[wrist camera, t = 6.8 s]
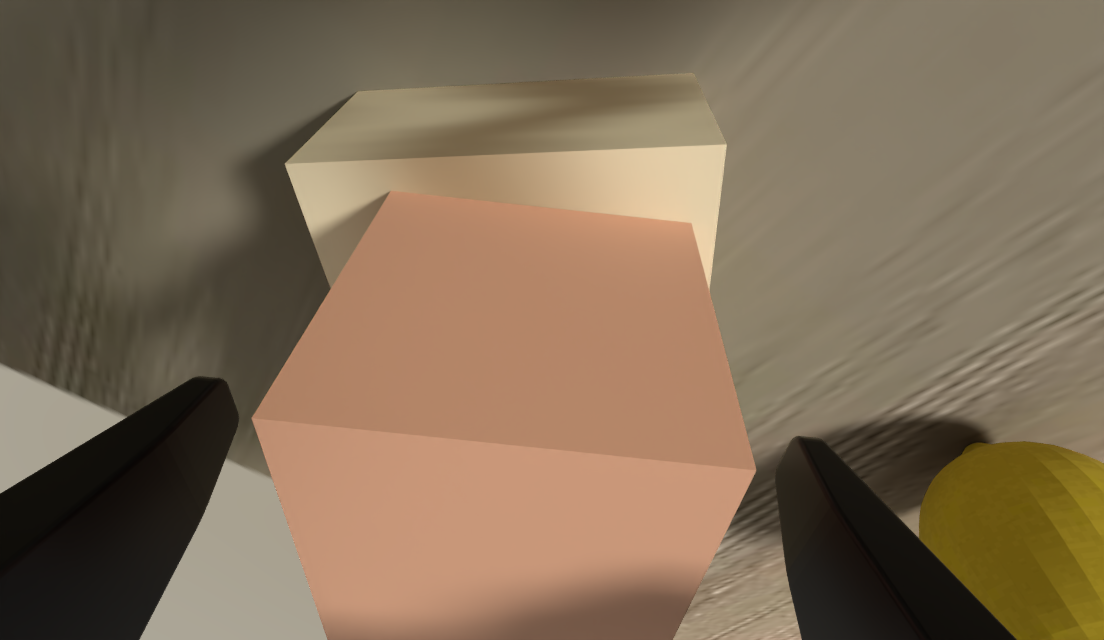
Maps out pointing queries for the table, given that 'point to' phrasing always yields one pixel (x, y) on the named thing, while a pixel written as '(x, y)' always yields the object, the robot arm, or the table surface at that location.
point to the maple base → (516, 154)
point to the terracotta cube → (508, 427)
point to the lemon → (1023, 535)
